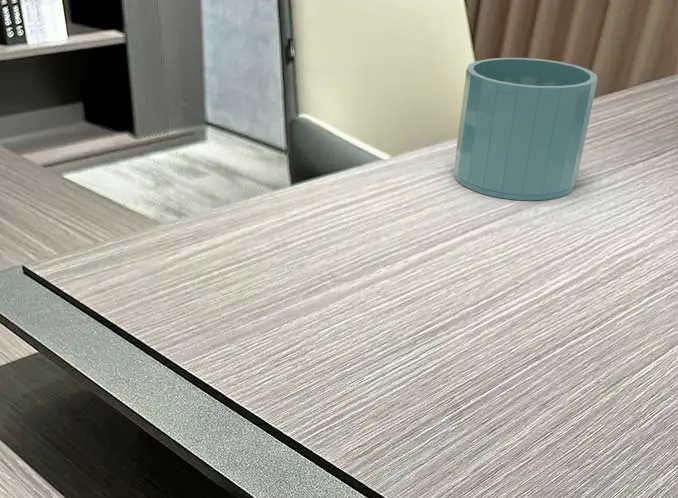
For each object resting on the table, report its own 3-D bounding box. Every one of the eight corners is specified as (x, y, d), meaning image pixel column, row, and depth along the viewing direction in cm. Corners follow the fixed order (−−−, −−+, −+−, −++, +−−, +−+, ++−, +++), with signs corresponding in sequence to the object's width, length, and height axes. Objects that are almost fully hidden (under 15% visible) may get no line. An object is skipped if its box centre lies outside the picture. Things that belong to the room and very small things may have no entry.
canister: (552, 159, 83) (572, 58, 78) (592, 200, 73) (617, 88, 68) (443, 159, 82) (455, 57, 77) (468, 200, 73) (484, 87, 68)
